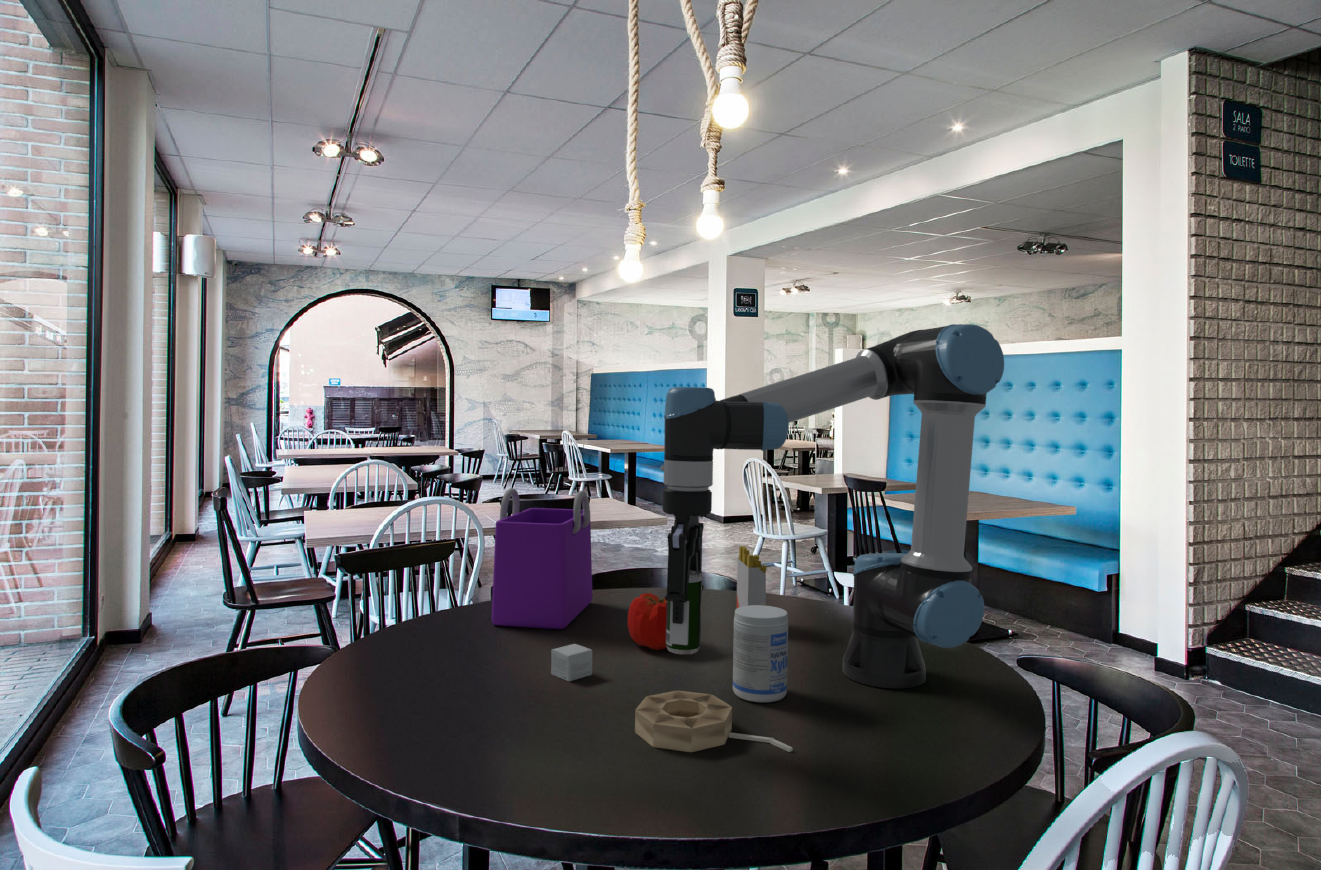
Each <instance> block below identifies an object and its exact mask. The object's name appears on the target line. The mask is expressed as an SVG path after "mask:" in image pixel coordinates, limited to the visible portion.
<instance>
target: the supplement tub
mask: <svg viewBox="0 0 1321 870" xmlns="http://www.w3.org/2000/svg"><path fill="white" fill-rule="evenodd" d="M788 615H789V613H788V611H786V610H785V609H783V608H780V607H777V606H771V605H766V606H764V605H749V606H742V607H739V608H737V607H736V609H735V610H734V617H733V644H732V645H733V649H732V650H733V651H732V653H733V655H732V659H733V660H732V691H733V693H734V694H735V695H736V697H738V698H740V699H741V700H744V701H747V702H755V703H773V702H777V701H780V700H783V699H784V698H785V696H786V695H787V692H788V691H787V690H788V663H789V661H788V659H789V658H788V656H789V655H788V654H789V651H788V650H789V618H788V617H789V616H788Z"/></svg>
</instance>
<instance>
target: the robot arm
mask: <svg viewBox="0 0 1321 870" xmlns="http://www.w3.org/2000/svg"><path fill="white" fill-rule="evenodd" d="M1004 370H1005V357H1004V351H1003V349H1002V347H1001V345H1000V343H999V340H997V339H995V337H994V336H993V333H991V332H990V331H989V330H988V329H986V328H984V327H982V326H981V325H980V326H979V325H977V324H972V323H971V324H970V323H969V324H967V323H966V324H964V323H963V324H962V323H959V324H953V323H952V324H949V325H944V326H939V327H932V328H927V329H926V328H925V329H918V330H916V329H915V330H912V331H909V332H907V333H904V334H902V335H898V336H896V337H894V338H892V339H889V340H886V341H884V342H881V343H878V344H876V345H874V346H871V347H870V346H869V347H868V348H863V349H861V350H860V351H859V352H857V355H855V357H854V358H851V359H847V360H844V361H841V362H839V363H835V364H832V365H828V366H825V367H822V368H819V369H817V370H813V371H809V372H805V373H803V374H800V375H796V376H793V377H789V378H787V379H783V380H781V381H777V382H774V383H771V384H767V385H765V386H761V387H757V388H755V389H751V390H749V391H746V392H743V393H742V392H741V393H739V394H737V395H732V396H730V397H727V398H723V399H720V400H719V399H718V400H716V399H717V398H716V395H715V391H714V389H713V388H711V387H697V386H696V387H695V386H694V387H693V386H674V387H671V388H670V389H668V390H667V392H666V396H665V405H664V415H663V419H664V443H663V444H664V447H663V448H664V450H663V451H664V455H663V464H662V465H661V466H660V468H659V469H660V471H662V472H663V485H664V486H666V488H664V490H662V511H663V513H665V514H667V515H673V517H674V520H673V521H674V523H673V525H671V528H670V533H669V532H668V534H667V551H668V552H667V578H666V595H665V596H664V598H665V601H671V602H670V641H669V643H671V644H680V645H687V644H688V627H689V601H687V600H688V597H687V595H688V584H689V572H690V569H691V570H697V571H699V572H701V578H702V575H703V574H702V571H703V570H702V569H703V568H702V565H703V564H702V562H703V532H704V527H705V526H704V523H703V522H700V519H699V517H703V516H708V515H710V513H711V512H712V505H713V499H712V498H713V491H711V489H710V487H712V486H713V484H714V482H713V481H714V480H713V478H714V477H713V475H714V473H713V472H714V450H739V451H740V450H745V451H746V450H747V451H748V450H749V451H752V450H753V451H755V450H757V451H760V450H761V451H762V452H763V451H766V450H771V451H772V450H778V449H780V448H781V447H783V446H784V444H785V443H786V441H787V438H788V434H789V423H793V422H796V421H799V420H801V419H805V418H808V417H812V416H814V415H819V414H820V413H823V412H826V411H830V410H833V409H836V408H840V407H842V406H845V405H848V404H851V403H855V402H857V401H860V400H863V399H867V398H870V399H872V400H875V401H877V400H881V399H884V398H887V397H888V398H889V397H892V396H893V397H894V396H902V395H913V401H912V402H913V404H914V405H915V406H916V408H917V409H918V410H919V411H920V413H921V420H920V432H919V434H920V435H919V442H918V443H919V444H918V445H919V446H918V457H917V469H916V479H915V480H916V482H915V495H914V496H915V497H914V505H913V506H914V508H913V519H912V530H911V531H912V533H911V545H910V549H909V551H908V552H907V553H903V552H902V553H900V552H899V553H896V552H881V553H877V552H876V553H875V552H874V553H865V554H861V555H859V556H857V557H856V559H855V562H854V569H853V574H852V576H853V606H852V607H853V610H852V611H853V613H852V620H853V621H852V633H851V636H850V639H849V641H848V644H847V646H846V649H845V652H844V655H843V656H842V657H843V658H842V674H843V675H844V676H846V677H847V678H849V679H850V680H852V681H854V682H857V683H860V684H863V685H866V686H871V687H878V688H883V689H909V688H916V687H918V686H921V685H923V684H924V683H925V682H926V676H927V674H926V672H927V671H926V670H927V669H926V664H925V660H924V657H923V655H922V649H921V647H920V644H919V641H921V642H922V643H926V644H928V645H933V646H936V647H939V648H944V649H945V648H946V649H947V648H948V649H949V648H955V647H959V646H961V645H963V644H964V643H966V642H968V641H969V639H970V638H971V637H972V636H974V635H975V634H976V633H977V631H978V630H979V628H980V627H981V625H982V621H983V619H984V615H985V601H984V598H983V595H982V594H981V593H980V590H979V589H978V588H977V587H976V586H974V585H973V583H972V580H973V579H972V578H973V575H972V574H973V566H972V565H971V564H970V563H969V561H968V560H966V558H965V545H966V543H965V542H966V533H967V531H966V530H967V518H968V506H969V496H970V495H969V493H970V481H971V472H972V471H971V470H972V469H971V468H972V457H973V456H972V455H973V446H974V445H973V444H974V432H975V420H976V419H975V418H976V416H977V414H979V413H980V412H981V411H982V410H983V409H985V408H986V405H987V394H988V393H990V392H991V391H993V390H994V389H995V388H996V387H997V384H999V383H1000V381H1001V380H1002V377H1003V376H1004ZM704 589H705V588H704V585H702V592H703V591H704ZM918 639H919V641H918Z"/></svg>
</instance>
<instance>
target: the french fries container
mask: <svg viewBox="0 0 1321 870" xmlns="http://www.w3.org/2000/svg"><path fill="white" fill-rule="evenodd" d="M738 547H739V548H738V552H739V554H738V557H737V559H736V561H737V562H736V563H737V565H736V566H737V567H736V570H737V571H736V609H737V608H739V607H742V606H749V605H764V606H767V591H766V590H767V587H766V586H767V579H766V577H767V574H766V572H767V568H768V566H767V564H766V565H765V564H762V560H760V556H759V554H750V549H748V548H747V546H745V545H740V546H738Z"/></svg>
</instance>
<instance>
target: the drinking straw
mask: <svg viewBox="0 0 1321 870" xmlns="http://www.w3.org/2000/svg"><path fill="white" fill-rule="evenodd" d="M728 738H729V739H738V740H746V741H754V742H760V743H769V744H770V745H773V746H775V747H777V748H779V749H782V750H783V751H786V752H789V753H792V752H793V746H790V745H789V744H788V745H787V744H786V743H784V742H781V741H779V740H777V739H775V737H767V736H761V735H759V736H758V735H751V734H745V733H736V732H729V735H728Z"/></svg>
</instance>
